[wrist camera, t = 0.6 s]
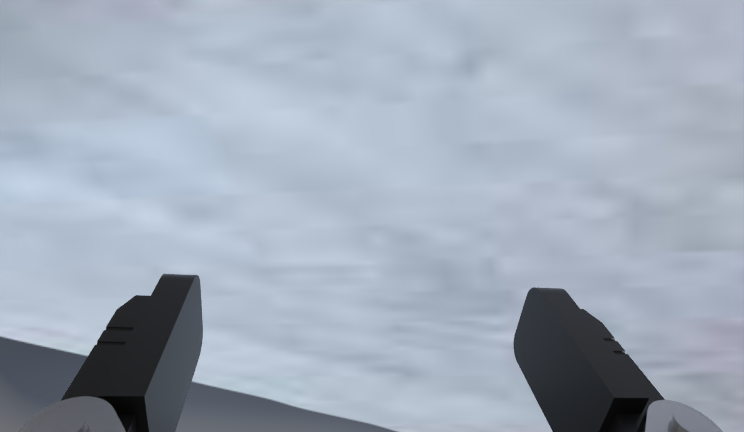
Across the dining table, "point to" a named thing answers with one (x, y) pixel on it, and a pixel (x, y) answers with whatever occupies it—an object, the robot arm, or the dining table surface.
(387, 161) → the dining table surface
